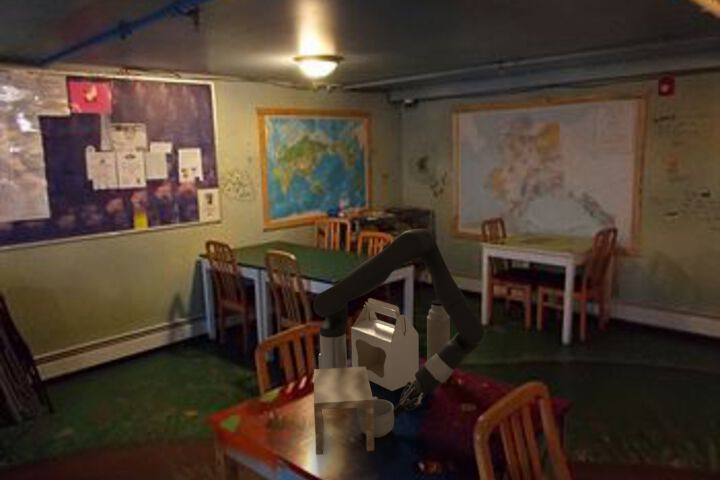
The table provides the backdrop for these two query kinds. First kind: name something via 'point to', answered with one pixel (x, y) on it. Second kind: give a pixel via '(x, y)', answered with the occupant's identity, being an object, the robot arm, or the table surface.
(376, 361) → the gable box
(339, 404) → the miniature side table
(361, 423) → the teacup
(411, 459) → the table surface
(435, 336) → the thermos bottle
